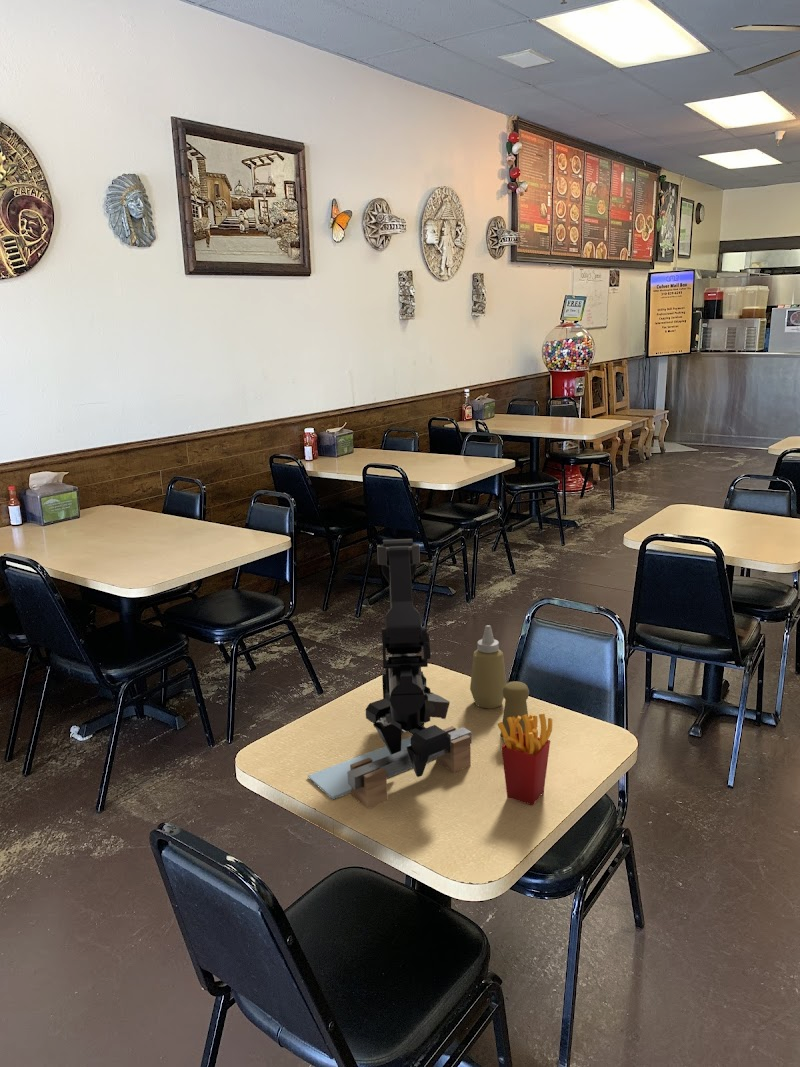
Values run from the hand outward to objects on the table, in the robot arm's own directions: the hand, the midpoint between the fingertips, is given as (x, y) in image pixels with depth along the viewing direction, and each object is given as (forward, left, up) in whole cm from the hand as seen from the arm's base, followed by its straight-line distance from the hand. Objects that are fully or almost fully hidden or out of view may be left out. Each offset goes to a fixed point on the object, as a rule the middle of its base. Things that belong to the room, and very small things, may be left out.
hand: (408, 767), depth 145 cm
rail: (0, +1, +1) cm, 1 cm away
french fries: (+15, +14, -3) cm, 21 cm away
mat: (-8, +1, -3) cm, 9 cm away
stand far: (0, +10, -3) cm, 11 cm away
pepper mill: (-1, +27, -3) cm, 28 cm away
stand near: (0, -9, -3) cm, 9 cm away
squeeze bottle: (-15, +32, -3) cm, 36 cm away
